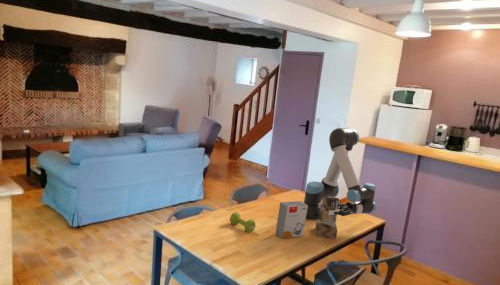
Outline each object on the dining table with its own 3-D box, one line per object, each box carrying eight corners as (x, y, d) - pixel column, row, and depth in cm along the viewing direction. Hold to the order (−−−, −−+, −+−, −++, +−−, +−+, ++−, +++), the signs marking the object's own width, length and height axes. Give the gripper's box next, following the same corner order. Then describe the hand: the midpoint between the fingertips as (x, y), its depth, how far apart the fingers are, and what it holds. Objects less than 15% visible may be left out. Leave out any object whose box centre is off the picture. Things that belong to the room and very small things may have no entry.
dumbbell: (256, 231, 213) (257, 219, 212) (247, 234, 208) (248, 223, 206) (236, 221, 224) (238, 210, 223) (227, 224, 218) (229, 213, 217)
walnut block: (315, 236, 216) (317, 227, 215) (315, 228, 228) (316, 219, 226) (335, 239, 214) (337, 230, 213) (334, 231, 226) (335, 222, 225)
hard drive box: (281, 239, 207) (286, 206, 203) (275, 233, 213) (279, 202, 209) (303, 236, 214) (308, 204, 210) (296, 230, 221) (300, 200, 217)
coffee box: (336, 222, 220) (340, 198, 217) (332, 226, 214) (336, 201, 211) (322, 218, 224) (325, 194, 221) (318, 221, 219) (322, 196, 216)
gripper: (364, 221, 215) (333, 222, 206) (341, 206, 236) (313, 207, 228) (366, 209, 213) (335, 210, 205) (343, 195, 234) (314, 196, 226)
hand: (323, 209), depth 216 cm, fingers closed on coffee box, 11 cm apart
